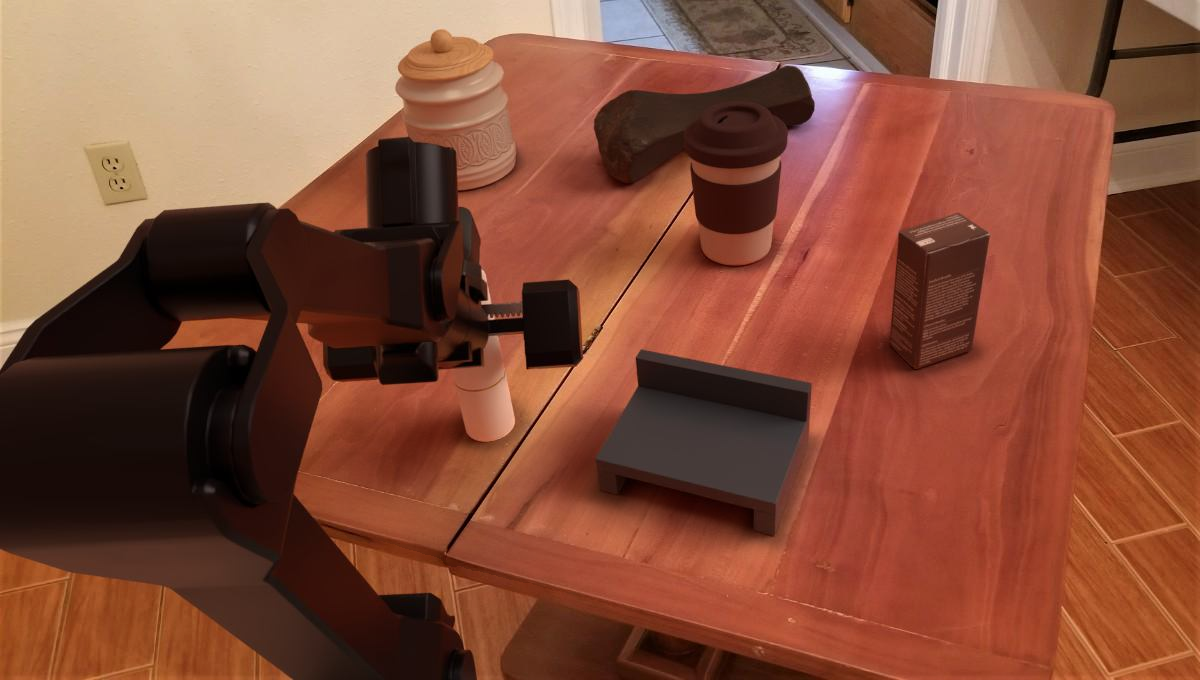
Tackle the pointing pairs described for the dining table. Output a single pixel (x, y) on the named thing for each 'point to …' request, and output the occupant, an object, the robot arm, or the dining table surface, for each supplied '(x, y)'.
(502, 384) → the tube
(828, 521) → the dining table surface
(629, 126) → the dark brown bone
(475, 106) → the jar
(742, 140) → the coffee cup
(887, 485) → the dining table surface
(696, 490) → the shelf
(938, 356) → the box
